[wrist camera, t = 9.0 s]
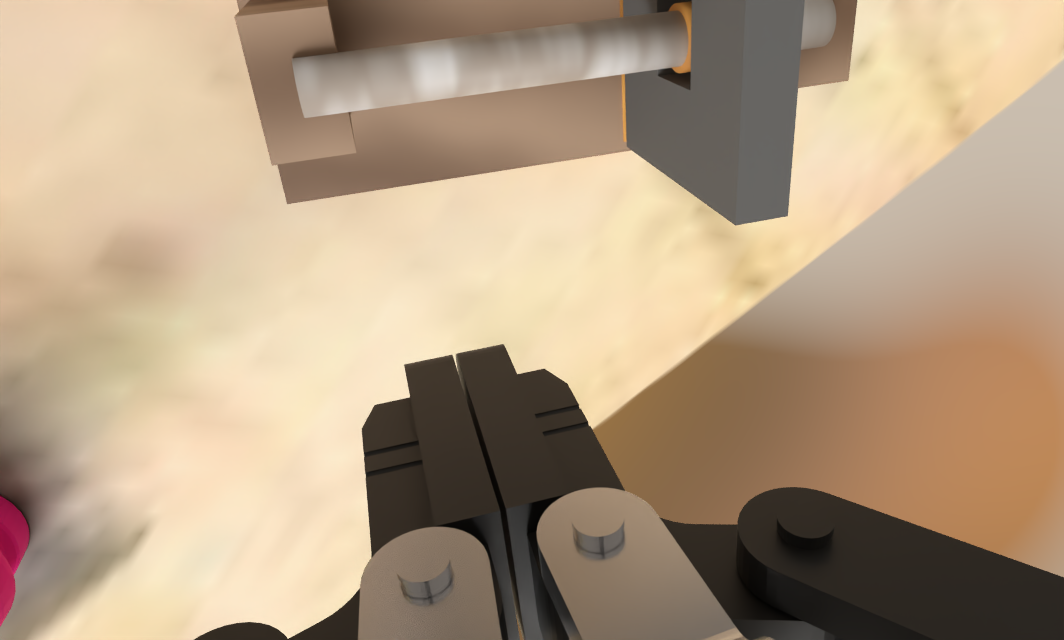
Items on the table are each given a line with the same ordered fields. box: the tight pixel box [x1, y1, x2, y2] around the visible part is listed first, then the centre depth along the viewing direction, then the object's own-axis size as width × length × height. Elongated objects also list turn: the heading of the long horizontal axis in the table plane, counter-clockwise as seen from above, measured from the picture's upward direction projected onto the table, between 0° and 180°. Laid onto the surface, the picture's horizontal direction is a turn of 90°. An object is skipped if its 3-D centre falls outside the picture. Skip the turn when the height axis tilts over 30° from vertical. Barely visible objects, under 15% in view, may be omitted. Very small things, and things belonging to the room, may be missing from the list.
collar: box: [623, 0, 805, 225], centre depth 29 cm, size 11×2×11 cm, turn 4°
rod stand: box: [235, 0, 857, 204], centre depth 31 cm, size 12×24×9 cm, turn 94°
